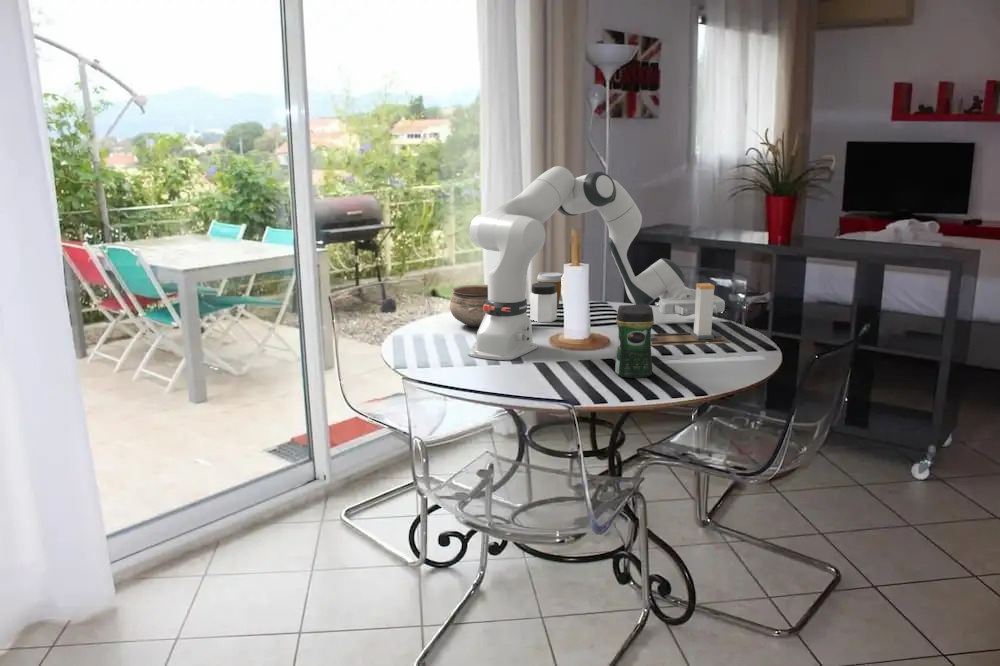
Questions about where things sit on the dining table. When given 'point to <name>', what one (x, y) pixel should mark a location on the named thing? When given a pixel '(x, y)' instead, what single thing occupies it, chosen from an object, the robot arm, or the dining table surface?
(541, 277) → the disposable coffee cup
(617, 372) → the coffee jar
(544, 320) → the jar
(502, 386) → the dining table surface
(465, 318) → the cooking pot
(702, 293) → the fader
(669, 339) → the board
